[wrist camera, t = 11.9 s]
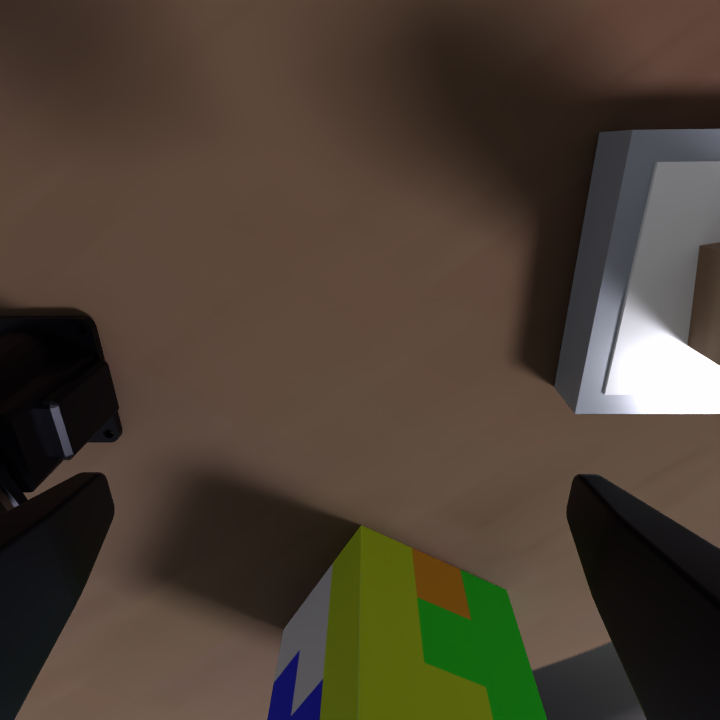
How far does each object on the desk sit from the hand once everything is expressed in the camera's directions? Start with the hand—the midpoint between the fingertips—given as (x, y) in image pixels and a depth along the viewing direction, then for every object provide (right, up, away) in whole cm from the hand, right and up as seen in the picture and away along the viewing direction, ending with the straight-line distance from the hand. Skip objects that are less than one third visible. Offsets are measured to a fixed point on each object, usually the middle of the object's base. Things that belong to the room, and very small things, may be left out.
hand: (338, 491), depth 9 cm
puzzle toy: (+2, -13, +20) cm, 24 cm away
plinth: (+15, +6, +11) cm, 20 cm away
